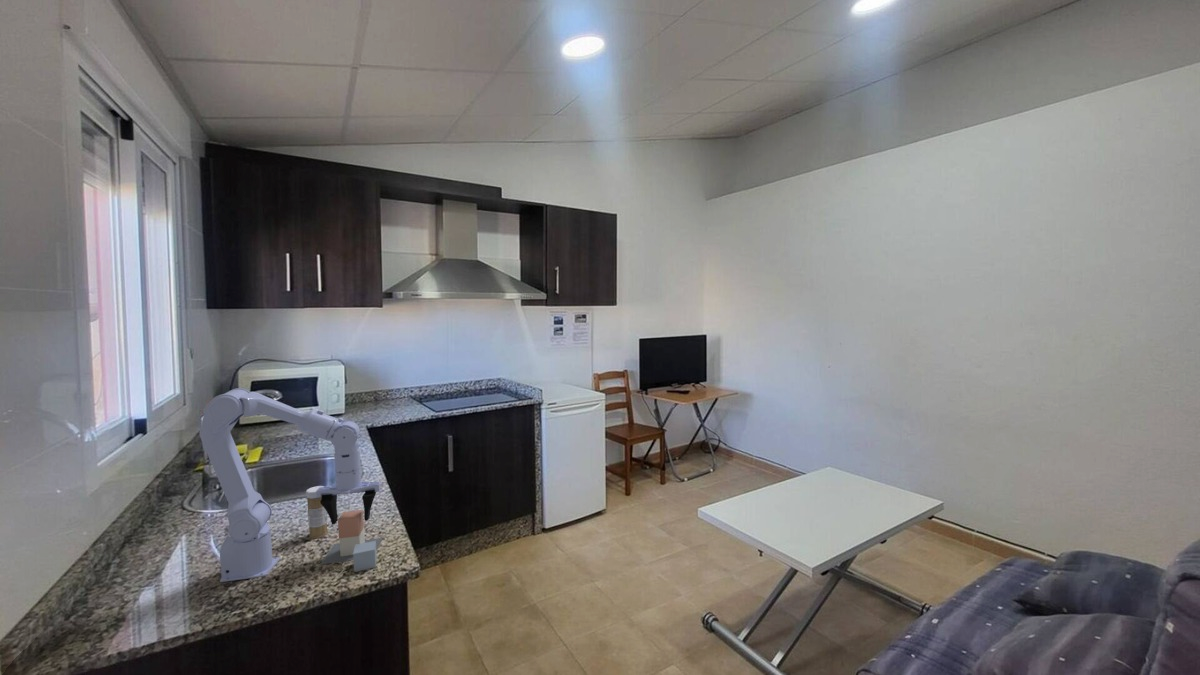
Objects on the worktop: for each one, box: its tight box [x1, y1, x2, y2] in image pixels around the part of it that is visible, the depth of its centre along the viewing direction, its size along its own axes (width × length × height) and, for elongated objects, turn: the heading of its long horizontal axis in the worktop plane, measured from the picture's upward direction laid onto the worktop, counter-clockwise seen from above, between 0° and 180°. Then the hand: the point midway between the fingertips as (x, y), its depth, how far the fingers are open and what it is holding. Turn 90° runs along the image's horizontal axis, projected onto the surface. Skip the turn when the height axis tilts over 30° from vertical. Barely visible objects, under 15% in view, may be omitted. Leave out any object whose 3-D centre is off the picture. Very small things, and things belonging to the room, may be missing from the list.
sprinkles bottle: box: [305, 485, 329, 539], centre depth 128 cm, size 5×5×13 cm
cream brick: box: [338, 527, 366, 556], centre depth 119 cm, size 5×5×5 cm
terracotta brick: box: [337, 509, 365, 539], centre depth 119 cm, size 5×5×5 cm
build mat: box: [320, 537, 383, 566], centre depth 120 cm, size 12×10×1 cm
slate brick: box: [352, 541, 378, 572], centre depth 113 cm, size 5×5×5 cm
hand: (351, 520), depth 119 cm, fingers open, 7 cm apart
